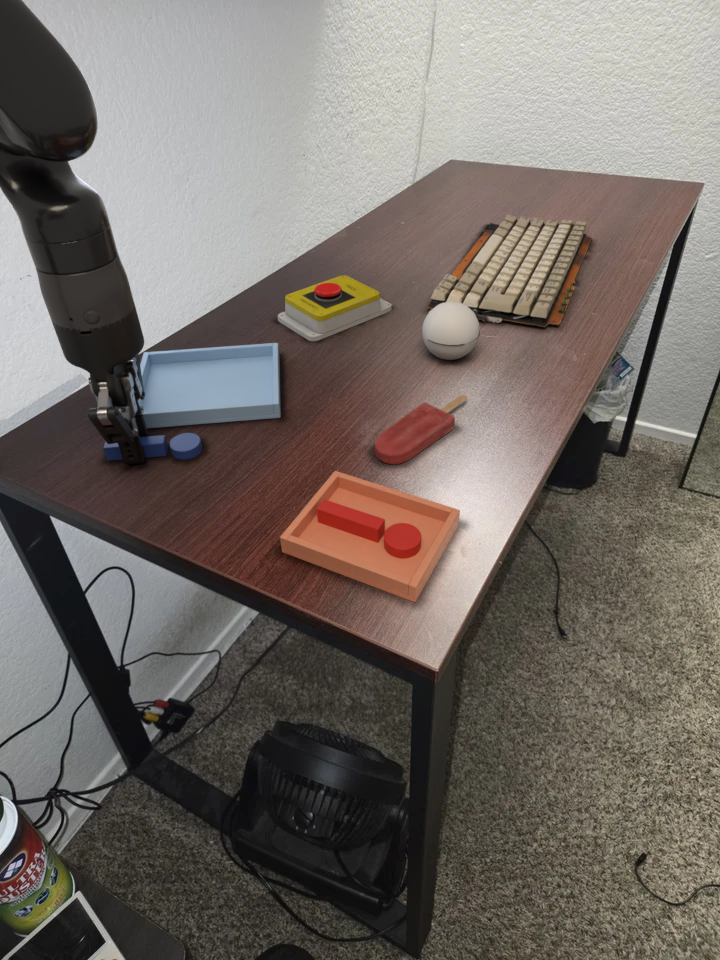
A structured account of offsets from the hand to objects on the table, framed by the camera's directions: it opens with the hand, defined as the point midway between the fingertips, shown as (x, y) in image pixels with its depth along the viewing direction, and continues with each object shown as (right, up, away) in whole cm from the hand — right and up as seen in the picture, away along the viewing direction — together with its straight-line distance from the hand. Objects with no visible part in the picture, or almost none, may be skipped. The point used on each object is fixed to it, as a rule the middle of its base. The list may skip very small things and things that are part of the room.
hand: (137, 452), depth 72 cm
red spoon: (+25, -8, -11) cm, 29 cm away
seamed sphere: (+37, +13, +14) cm, 42 cm away
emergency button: (+21, +21, +24) cm, 38 cm away
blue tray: (+6, +8, +10) cm, 14 cm away
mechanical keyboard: (+50, +30, +34) cm, 68 cm away
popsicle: (+32, +2, +2) cm, 32 cm away
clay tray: (+26, -9, -10) cm, 29 cm away
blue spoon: (+2, 0, 0) cm, 2 cm away
